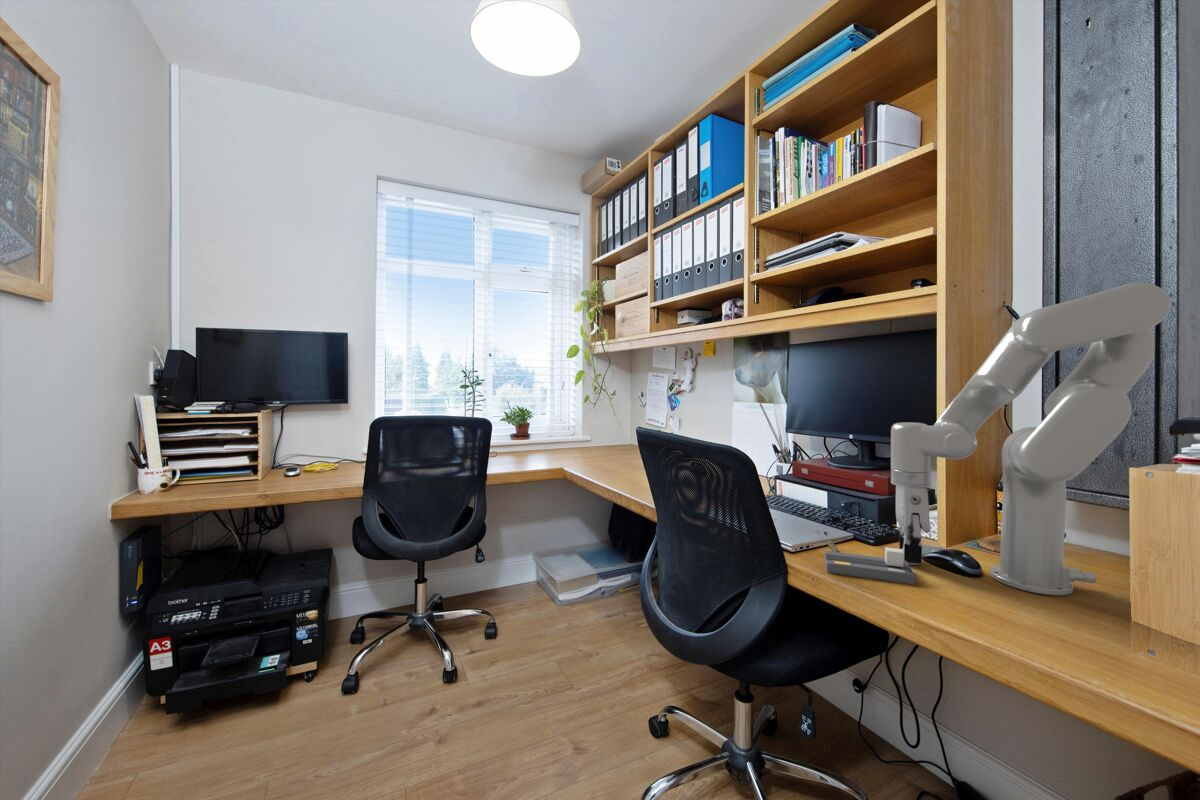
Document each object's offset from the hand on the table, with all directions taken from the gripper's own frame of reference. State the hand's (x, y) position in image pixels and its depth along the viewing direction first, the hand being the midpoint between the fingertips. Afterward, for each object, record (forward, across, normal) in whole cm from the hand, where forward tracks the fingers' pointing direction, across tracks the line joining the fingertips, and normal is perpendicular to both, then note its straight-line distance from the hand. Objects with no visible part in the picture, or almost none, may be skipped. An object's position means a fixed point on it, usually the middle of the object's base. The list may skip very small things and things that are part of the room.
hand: (910, 557), depth 108 cm
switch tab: (-1, -9, +5) cm, 10 cm away
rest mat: (+1, +9, -5) cm, 11 cm away
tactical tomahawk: (+1, +8, +15) cm, 17 cm away
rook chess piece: (+1, 0, 0) cm, 1 cm away
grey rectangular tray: (+1, -9, +10) cm, 13 cm away
